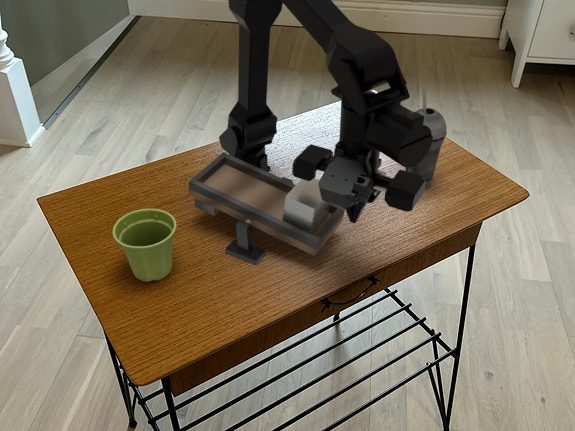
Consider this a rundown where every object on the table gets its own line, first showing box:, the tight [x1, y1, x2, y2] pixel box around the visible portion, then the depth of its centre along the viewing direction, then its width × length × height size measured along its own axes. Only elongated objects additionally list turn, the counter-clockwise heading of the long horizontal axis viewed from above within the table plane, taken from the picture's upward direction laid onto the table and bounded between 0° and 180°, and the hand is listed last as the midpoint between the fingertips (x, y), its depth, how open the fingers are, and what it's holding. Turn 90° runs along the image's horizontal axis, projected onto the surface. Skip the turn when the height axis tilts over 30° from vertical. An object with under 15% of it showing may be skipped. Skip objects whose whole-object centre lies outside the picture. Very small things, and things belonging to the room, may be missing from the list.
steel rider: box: [282, 177, 330, 235], centre depth 96 cm, size 5×7×6 cm
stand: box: [224, 176, 294, 266], centre depth 102 cm, size 6×17×6 cm, turn 151°
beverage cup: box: [405, 85, 447, 191], centre depth 108 cm, size 7×7×20 cm
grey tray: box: [188, 152, 346, 257], centre depth 101 cm, size 24×12×6 cm, turn 60°
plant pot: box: [112, 208, 177, 283], centre depth 94 cm, size 9×9×9 cm
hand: (354, 221), depth 93 cm, fingers closed
